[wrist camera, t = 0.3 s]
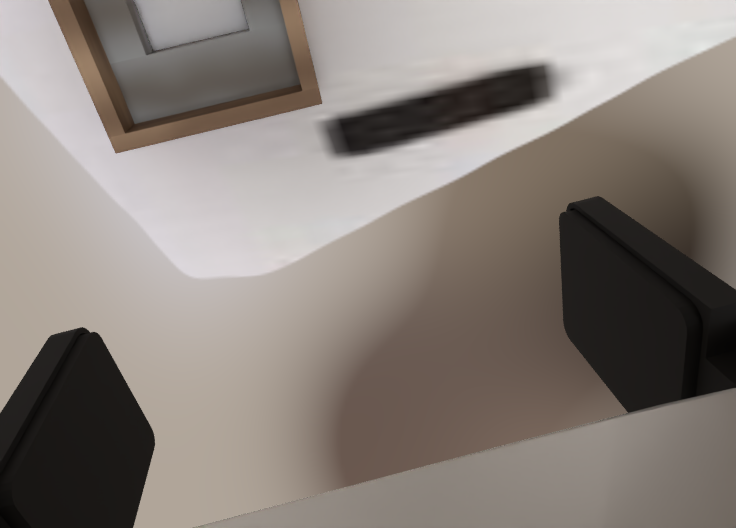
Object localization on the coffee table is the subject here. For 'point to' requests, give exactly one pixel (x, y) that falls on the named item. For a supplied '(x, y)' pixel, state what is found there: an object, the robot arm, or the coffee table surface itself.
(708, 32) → the coffee table surface
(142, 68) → the socket box
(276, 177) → the coffee table surface
